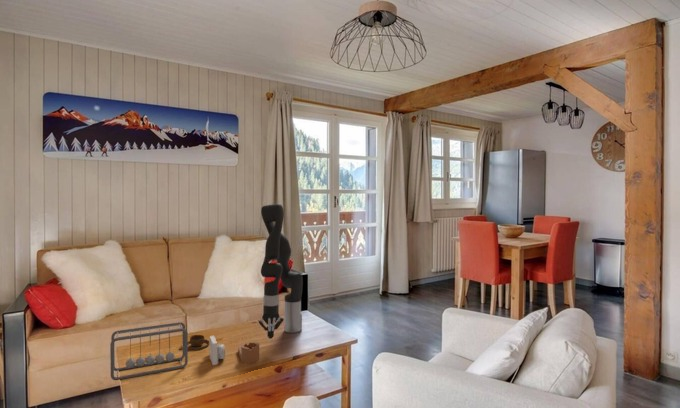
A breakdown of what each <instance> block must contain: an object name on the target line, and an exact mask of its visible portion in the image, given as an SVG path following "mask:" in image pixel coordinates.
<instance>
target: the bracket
mask: <svg viewBox="0 0 680 408" xmlns="http://www.w3.org/2000/svg"><path fill="white" fill-rule="evenodd" d="M237 347H238V348H237V349H238V351H237V352H238V356H239V358H240V361H241V362H242V363H245V364H252V363H256V362H258V361H260V343H259V342H256V341H249V342H244V343H242V344H239V345H238V346H237Z"/></svg>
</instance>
